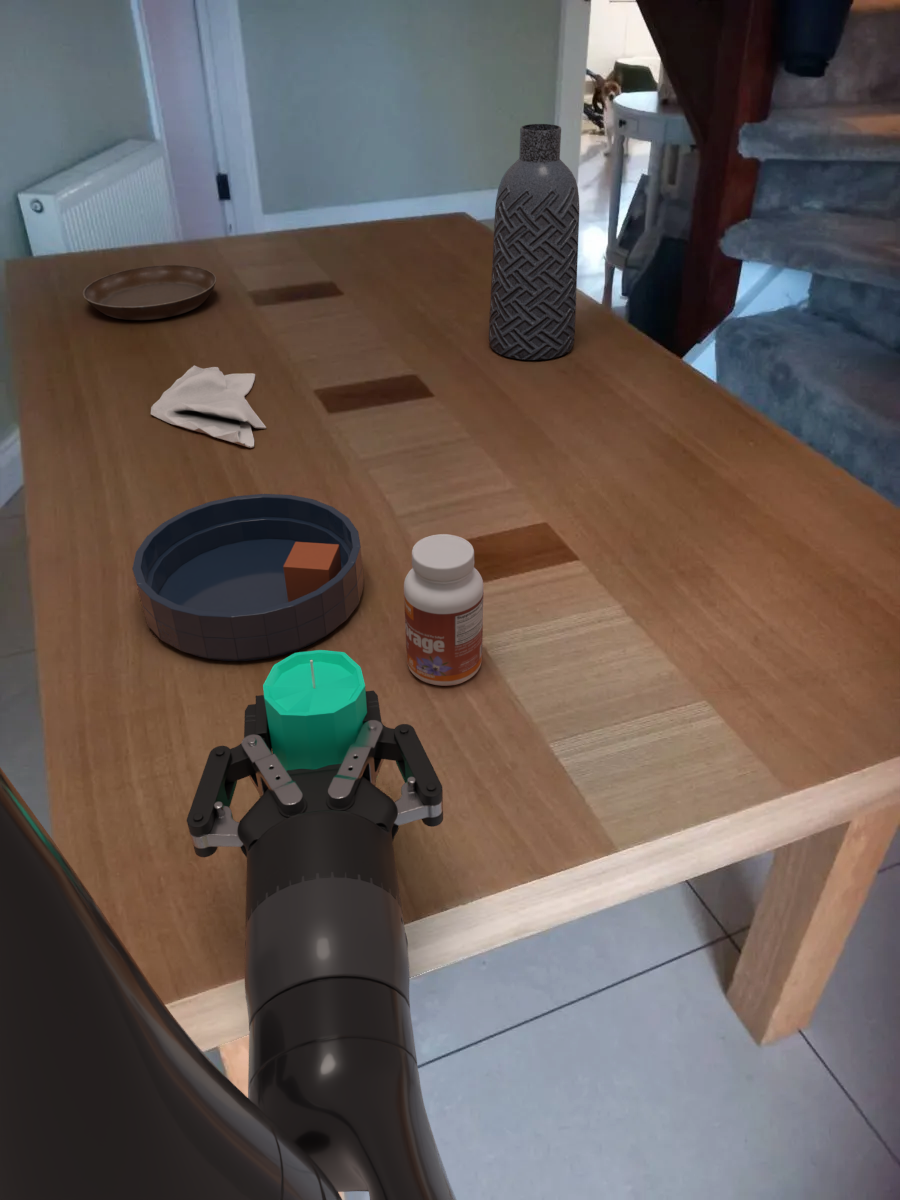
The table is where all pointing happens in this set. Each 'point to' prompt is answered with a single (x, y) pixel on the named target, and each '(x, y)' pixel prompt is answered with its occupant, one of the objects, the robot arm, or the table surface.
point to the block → (310, 567)
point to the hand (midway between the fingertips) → (311, 700)
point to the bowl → (244, 577)
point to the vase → (535, 251)
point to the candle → (314, 708)
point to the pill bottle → (443, 611)
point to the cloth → (211, 405)
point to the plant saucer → (150, 291)
